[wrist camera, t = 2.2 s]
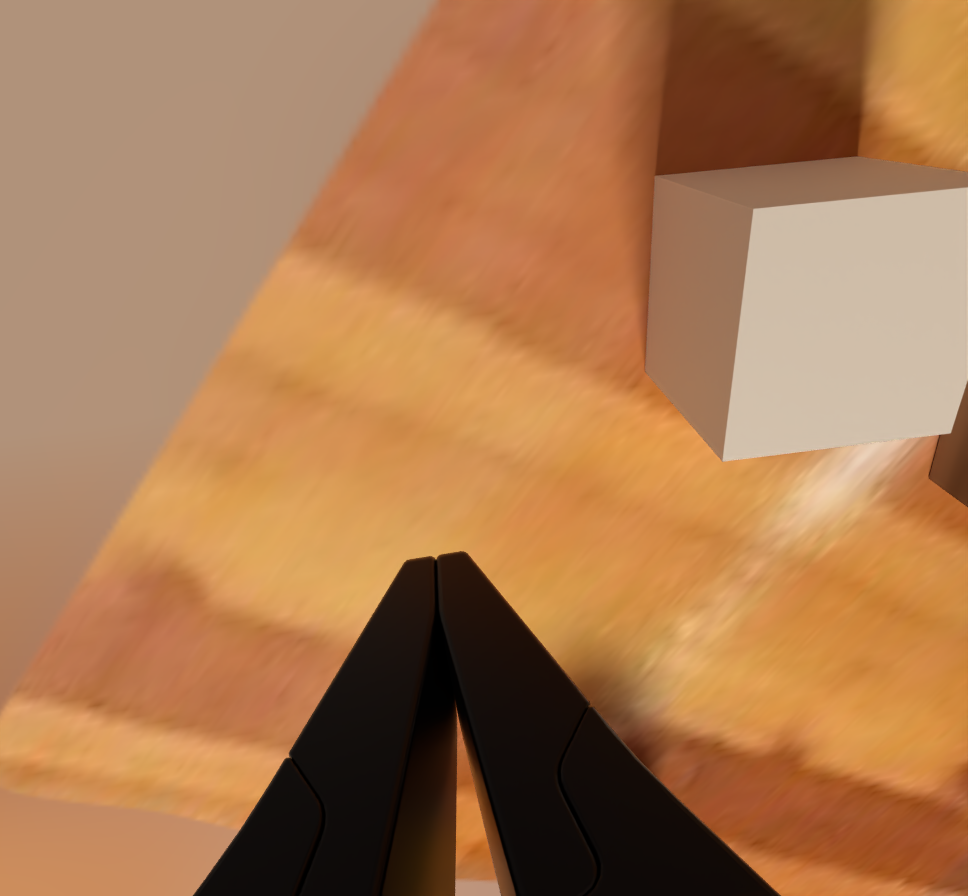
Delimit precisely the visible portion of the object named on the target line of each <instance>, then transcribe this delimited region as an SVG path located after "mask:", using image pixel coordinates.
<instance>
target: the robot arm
mask: <svg viewBox="0 0 968 896" xmlns="http://www.w3.org/2000/svg"><path fill="white" fill-rule="evenodd" d="M456 707H457V711H456ZM457 712H458V717H459V722H460V726H461V731H462V736H463V740H464V744H465V748H466V752H467V756H468V761H469V765H470V769H471V773H472V777H473V781H474V785H475V790H476V794H477V798H478V802H479V806H480V810H481V814H482V819H483V823H484V827H485V831H486V835H487V839H488V843H489V848H490V852H491V856H492V860H493V864H494V868H495V872H496V877H497V881H498V885H499V889H500V893H501V896H781V895H780V894H779V893H778V892H776V891H775V890H774V889H773V888H772V887H771V886H770V885H769V884H768V883H767V882H766V881H765V880H764V879H763V878H762V877H760V876H759V875H758V874H757V873H756V872H755V871H754V870H753V869H752V868H751V867H750V866H749V865H748V864H747V863H746V862H745V861H744V860H742V859H741V858H740V857H739V856H738V855H737V854H736V853H735V852H734V851H733V850H732V849H731V848H730V847H729V846H728V845H727V844H726V843H725V842H723V841H722V840H721V839H720V838H719V837H718V836H717V835H716V834H715V833H714V832H713V831H712V830H711V829H710V828H709V827H708V826H707V825H705V824H704V823H703V822H702V821H701V820H700V819H699V818H698V817H697V816H696V815H695V814H694V813H693V812H692V811H691V810H690V809H689V808H688V807H686V806H685V805H684V804H683V803H682V802H681V801H680V800H679V799H678V798H677V797H676V796H675V795H674V794H673V793H672V792H671V791H670V790H669V789H668V788H667V787H666V786H665V785H664V784H663V783H662V782H661V781H660V780H659V779H658V778H657V777H656V776H655V775H654V774H653V773H652V772H651V771H650V770H649V769H648V768H647V767H646V766H645V765H644V764H643V763H642V762H641V761H640V760H639V759H638V758H637V756H636V755H635V754H634V753H633V752H632V751H631V750H630V749H629V747H628V746H627V745H626V744H625V743H624V742H623V741H622V739H621V738H620V737H619V736H618V735H617V734H616V733H615V732H614V730H613V729H612V728H611V727H610V726H609V724H608V723H607V722H606V721H605V720H604V718H603V717H602V716H601V715H600V713H599V712H598V711H597V710H596V709H595V708H594V707H592V706H591V705H590V702H589V701H588V699H587V698H586V697H585V696H584V695H583V693H582V692H581V691H580V690H579V688H578V687H577V686H576V685H575V684H574V682H573V681H572V680H571V679H570V677H569V676H568V675H567V674H566V673H565V671H564V670H563V669H562V668H561V667H560V665H559V664H558V663H557V662H556V660H555V659H554V658H553V657H552V656H551V654H550V653H549V652H548V651H547V650H546V648H545V647H544V646H543V645H542V643H541V642H540V641H539V640H538V639H537V637H536V636H535V635H534V634H533V633H532V631H531V630H530V629H529V628H528V626H527V625H526V624H525V623H524V622H523V620H522V619H521V618H520V617H519V616H518V614H517V613H516V612H515V611H514V609H513V608H512V607H511V606H510V605H509V603H508V602H507V601H506V600H505V598H504V597H503V596H502V595H501V594H500V592H499V591H498V590H497V589H496V588H495V586H494V585H493V584H492V583H491V581H490V580H489V579H488V578H487V577H486V575H485V574H484V573H483V572H482V571H481V569H480V568H479V567H478V566H477V564H476V563H475V562H474V561H473V560H472V558H471V557H470V556H469V555H468V554H467V553H466V552H464V551H460V552H454V553H448V554H441V555H439V556H438V557H437V559H435V558H434V557H432V556H429V557H422V558H416V559H410V560H407V561H406V562H404V564H403V565H402V567H401V569H400V570H399V572H398V574H397V575H396V577H395V579H394V580H393V582H392V584H391V585H390V587H389V589H388V590H387V592H386V593H385V595H384V597H383V598H382V600H381V602H380V603H379V605H378V607H377V608H376V610H375V612H374V613H373V615H372V617H371V618H370V620H369V622H368V623H367V625H366V626H365V628H364V630H363V631H362V633H361V635H360V636H359V638H358V640H357V641H356V643H355V645H354V646H353V648H352V650H351V651H350V653H349V655H348V656H347V658H346V659H345V661H344V663H343V664H342V666H341V668H340V669H339V671H338V673H337V674H336V676H335V678H334V679H333V681H332V683H331V684H330V686H329V688H328V689H327V691H326V692H325V694H324V696H323V697H322V699H321V701H320V702H319V704H318V706H317V707H316V709H315V711H314V712H313V714H312V716H311V717H310V719H309V721H308V722H307V724H306V725H305V727H304V729H303V730H302V732H301V734H300V735H299V737H298V739H297V740H296V742H295V744H294V745H293V747H292V749H291V750H290V752H289V757H290V758H286V759H285V760H284V761H283V763H282V764H281V766H280V768H279V769H278V771H277V773H276V774H275V776H274V778H273V779H272V781H271V783H270V784H269V786H268V787H267V789H266V791H265V792H264V794H263V795H262V797H261V798H260V800H259V801H258V803H257V805H256V806H255V808H254V809H253V811H252V812H251V814H250V815H249V817H248V819H247V820H246V822H245V823H244V825H243V826H242V828H241V829H240V831H239V832H238V834H237V835H236V836H235V838H234V839H233V841H232V842H231V844H230V845H229V846H228V848H227V849H226V851H225V852H224V853H223V855H222V856H221V858H220V859H219V860H218V862H217V863H216V865H215V866H214V867H213V869H212V870H211V872H210V873H209V874H208V876H207V877H206V879H205V880H204V881H203V883H202V884H201V885H200V887H199V888H198V889H197V891H196V892H195V894H194V895H193V896H455V861H456V790H457Z"/></svg>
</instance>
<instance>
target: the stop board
mask: <svg viewBox="0 0 968 896" xmlns="http://www.w3.org/2000/svg"><path fill="white" fill-rule="evenodd" d="M929 479H930V480H932V481H933V482H934V483H936V484H937V485H938V486H940V487H941V488H942V489H944V490H945V491H946V492H948V493H949V494H951V495H952V496H953V497H955V498H956V499H957V500H959V501H960V502H961V503H963V504H964V505H965V506H967V507H968V381H967V384H966V387H965V390H964V393H963V396H962V400H961V403H960V406H959V409H958V412H957V415H956V418H955V422H954V425H953V428H952V431H951V433H949V434H941V435H940V439H939V442H938V446H937V450H936V453H935V457H934V461H933V464H932V468H931V472H930V476H929Z"/></svg>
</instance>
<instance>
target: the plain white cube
mask: <svg viewBox="0 0 968 896" xmlns="http://www.w3.org/2000/svg"><path fill="white" fill-rule="evenodd" d="M645 372H646V373H647V375H648V376H649V377H650V378H651V379H652V380H653V382H654V383H655V384H656V385H657V386H658V387H659V389H660V390H661V391H662V392H663V393H664V394H665V395H666V397H667V398H668V399H669V400H670V401H671V402H672V404H673V405H674V406H675V407H676V408H677V409H678V411H679V412H680V413H681V414H682V415H683V416H684V418H685V419H686V420H687V421H688V422H689V423H690V425H691V426H692V427H693V428H694V429H695V430H696V431H697V433H698V434H699V435H700V436H701V437H702V438H703V440H704V441H705V442H706V443H707V444H708V445H709V447H710V448H711V449H712V450H713V451H714V452H715V454H716V455H717V456H718V457H719V458H720V459H721V461H722V462H723V461H731V460H739V459H747V458H755V457H763V456H771V455H779V454H788V453H796V452H804V451H812V450H820V449H828V448H836V447H844V446H852V445H860V444H868V443H877V442H885V441H893V440H901V439H909V438H917V437H925V436H933V435H941V434H949V433H951V431H952V428H953V425H954V422H955V418H956V415H957V412H958V409H959V406H960V403H961V400H962V396H963V393H964V390H965V387H966V384H967V381H968V172H964V171H957V170H950V169H943V168H936V167H929V166H922V165H915V164H908V163H901V162H894V161H887V160H880V159H873V158H866V157H859V156H855V157H845V158H835V159H824V160H814V161H804V162H793V163H783V164H772V165H762V166H752V167H741V168H731V169H720V170H710V171H700V172H689V173H679V174H669V175H658V176H655V183H654V203H653V223H652V243H651V262H650V282H649V302H648V322H647V342H646V362H645Z"/></svg>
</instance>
